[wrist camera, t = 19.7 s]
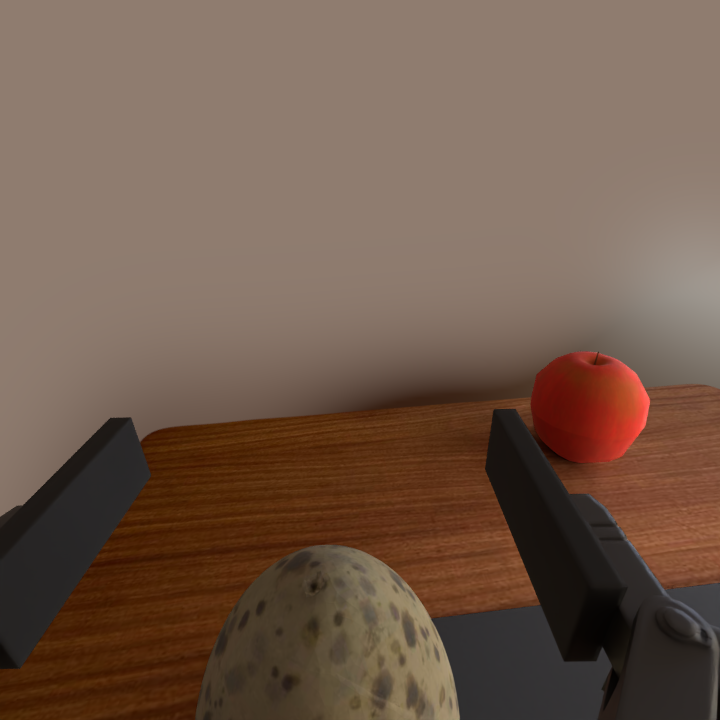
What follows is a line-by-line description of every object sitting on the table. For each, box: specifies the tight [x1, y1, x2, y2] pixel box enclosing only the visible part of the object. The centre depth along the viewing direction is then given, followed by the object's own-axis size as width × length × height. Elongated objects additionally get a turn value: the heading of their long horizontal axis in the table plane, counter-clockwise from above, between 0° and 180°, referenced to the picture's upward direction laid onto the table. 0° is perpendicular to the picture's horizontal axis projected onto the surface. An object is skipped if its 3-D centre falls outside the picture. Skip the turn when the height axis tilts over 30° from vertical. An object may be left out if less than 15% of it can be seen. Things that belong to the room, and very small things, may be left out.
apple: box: [531, 351, 650, 463], centre depth 40 cm, size 10×10×12 cm
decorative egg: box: [195, 545, 460, 720], centre depth 16 cm, size 11×11×15 cm
